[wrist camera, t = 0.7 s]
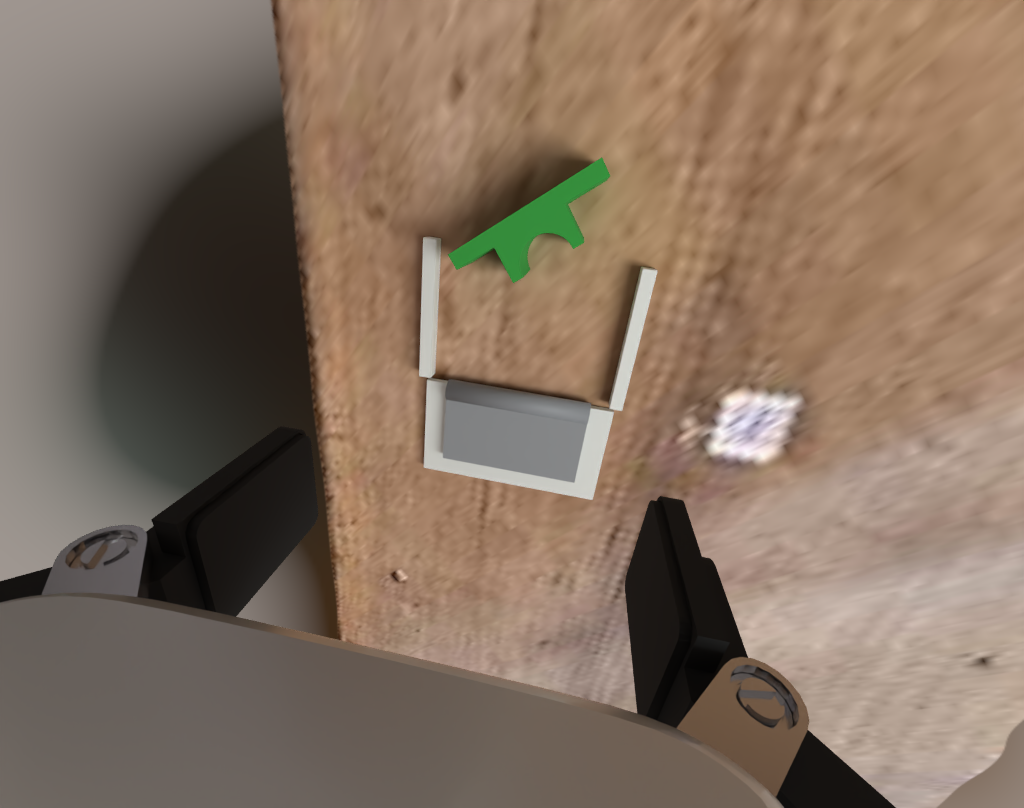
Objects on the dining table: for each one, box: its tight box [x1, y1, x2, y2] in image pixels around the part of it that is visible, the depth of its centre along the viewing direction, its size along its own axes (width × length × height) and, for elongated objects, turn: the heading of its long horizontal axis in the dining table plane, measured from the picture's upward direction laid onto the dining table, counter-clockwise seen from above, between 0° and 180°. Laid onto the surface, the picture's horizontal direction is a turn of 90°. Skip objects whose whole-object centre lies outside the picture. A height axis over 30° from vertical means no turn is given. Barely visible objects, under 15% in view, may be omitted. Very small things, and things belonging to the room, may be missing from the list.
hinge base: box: [419, 236, 657, 500], centre depth 36 cm, size 20×17×2 cm
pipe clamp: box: [448, 158, 610, 283], centre depth 30 cm, size 11×4×5 cm, turn 120°
